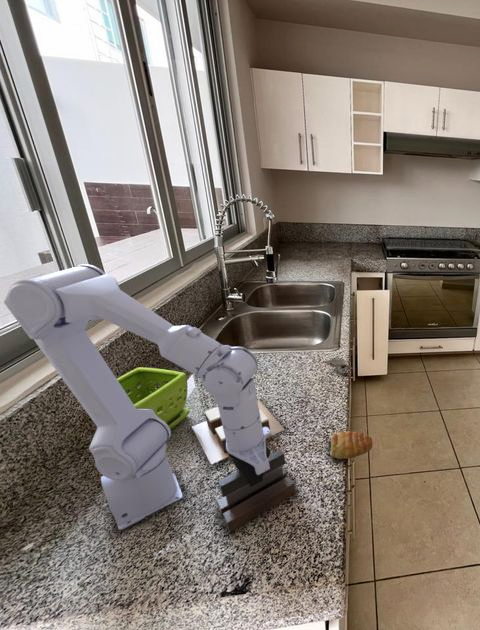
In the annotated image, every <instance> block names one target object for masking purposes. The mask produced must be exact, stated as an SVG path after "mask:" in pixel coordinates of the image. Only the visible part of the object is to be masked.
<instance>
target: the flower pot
mask: <svg viewBox="0 0 480 630" xmlns="http://www.w3.org/2000/svg"><path fill="white" fill-rule="evenodd" d="M116 379H117V380H118V382H119V383H120V385H121V386H122V388H123V389H124V391H125V392H126V394H127V395H128V397H129V398H130V400H131V401H132V403H133V404H134V406H135V408H136V409H151V410H153V411H154V413H155V414H156V415H157V416H158V417H159V418H160V419H161V420H163V421H164V422H165V423H166V424H167V425H168V426H169V428H170V431H171V430H172V429H173V428H175V427H176V426H177V425H178V424H179V423H181V422H182V421H183V420H184V419H186V417H188V416H189V413H190V411H191V409H189V408H185V406H186V403H187V400H188V388H189V387H188V376H187V374H186V373H185V372H182V371H176V370H170V369H163V368H154V367H140V366H139V367H136V368H134V369H133V370H130V371H128V372H126V373H124V374H123V375H121V376H119V377H116ZM165 382H167V383H165ZM138 384H139V385H138ZM137 385H138V387H137ZM157 385H159V386H160V388H157ZM128 390H129V392H128ZM151 390H152V391H151Z"/></svg>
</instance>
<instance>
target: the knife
mask: <svg viewBox="0 0 480 630" xmlns="http://www.w3.org/2000/svg"><path fill="white" fill-rule="evenodd" d="M268 460H269V466H270V469H269V470H267V471H265V472H264V474H263V480H262V481H261V482H259V483H257V484H256V485H254V486H252V487H251V486H250V485H249V483H248V481H247V480H246V478H245V475H244V474H243V473H242V472H241V471H239V470H237V471H235V472H233V473H231V474H229V475H226V476H225V477H223V478H221V479H219V480H217V484H218V488H219V491H220V494H221V497H222V498H223V497H225V496H226V500H227V504H228V508H229V510H230V509H232V508H233V507H235V506H237V505H239V504H240V503H242V502H244V501H246V500H247V499H249V498H251V497H253V496H254V495H256V494H258V493H260V492H261V491H263V490H265V489H267V488H268V487H270V486H272V485H274V484H275V483H277V482H279V481H281V480H282V479H284V475H283V469H284V468H283V469H282V467H283V466H284V465H285V464H286V456H285V453H284V451H283V450H282V449H278V450H276V451H274V452H272V453H270V456H269V457H268Z"/></svg>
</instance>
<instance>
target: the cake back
mask: <svg viewBox="0 0 480 630" xmlns="http://www.w3.org/2000/svg"><path fill="white" fill-rule="evenodd" d="M203 413H204V416H205V421H207V424H208V426H209V428H210V430H211V432H212V433H213V435H214V434H216V431H215V428H218V427H220V426H222V421H221V417H220V413H219V409H218V406H216V407H213V408H209V409H208V410H205V411H203Z"/></svg>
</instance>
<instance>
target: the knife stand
mask: <svg viewBox="0 0 480 630" xmlns="http://www.w3.org/2000/svg"><path fill="white" fill-rule="evenodd" d="M282 469H283V475H284V479H282V480H281V481H279V482H277V483H275V484H274V485H272V486H270V487H268V488H267V489H265V490H263V491H261V492H260V493H258V494H256V495H254V496H253V497H251V498H249V499H247V500H246V501H244V502H242V503H240V504H239V505H237V506H235V507H233V508H232V509H230V510H229V508H228V504H227V500H226V496H225V497H223V496H222V497H220V498H219V499H217V500H216V505H217V508H218V511H219V513H220V516H221V518H222V519H223V520H224V524H225V526H226V528H227V530H228V533H229V534H232V533H233V532H234V531H236V530H237V529H239V528H242V526H244V525H245V524H247V523H250V522H251V521H252V520H254V519H255V518H257V517H259V516H260V515H262V514H263V513H265V512H267V511H268V510H270V509H273V507H275V506H276V505H278V504H280V503H281V502H283V501H285V500H286V499H288V498H290V497H292V496H293V495H295V494H297V491H296V484H295V482H294V480H293V479H292V478H291V476H290V475H288V473H287V471H286V470H285V469H284V467H283V466H282Z"/></svg>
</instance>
